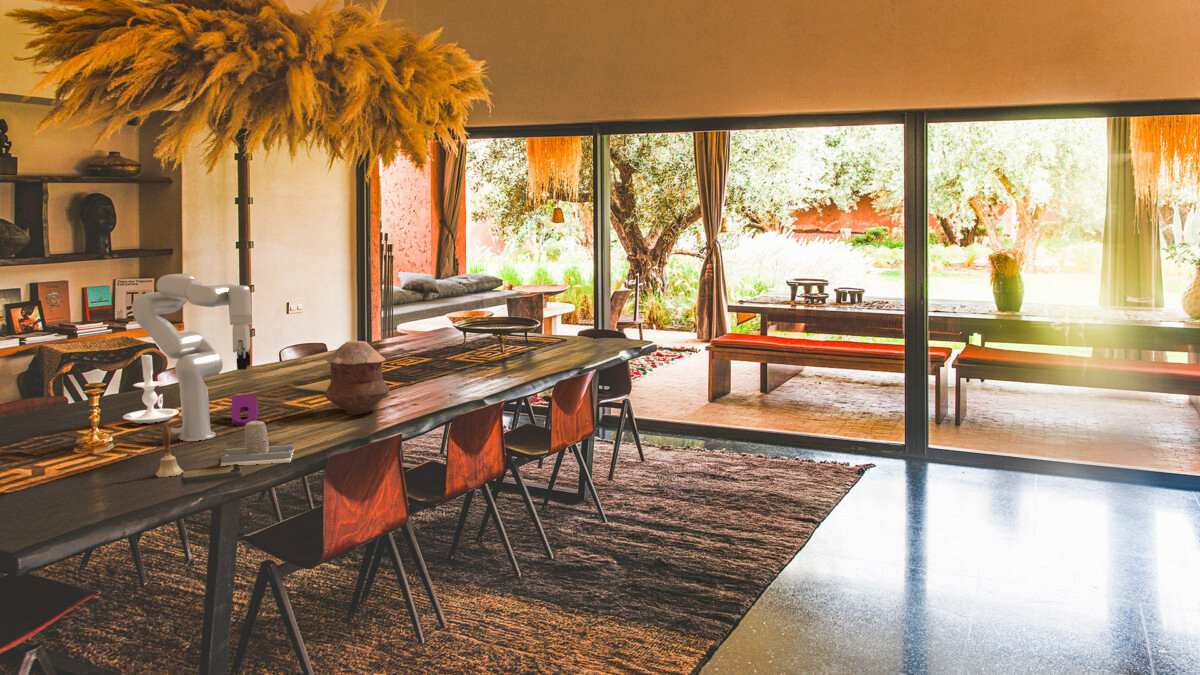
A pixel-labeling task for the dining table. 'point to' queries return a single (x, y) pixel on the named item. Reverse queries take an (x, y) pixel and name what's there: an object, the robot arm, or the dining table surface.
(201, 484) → the dining table surface
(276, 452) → the rail plate
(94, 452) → the dining table surface
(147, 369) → the candlestick
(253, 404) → the mounting bracket
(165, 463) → the hand bell
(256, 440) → the carving
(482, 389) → the dining table surface
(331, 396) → the pottery vessel
